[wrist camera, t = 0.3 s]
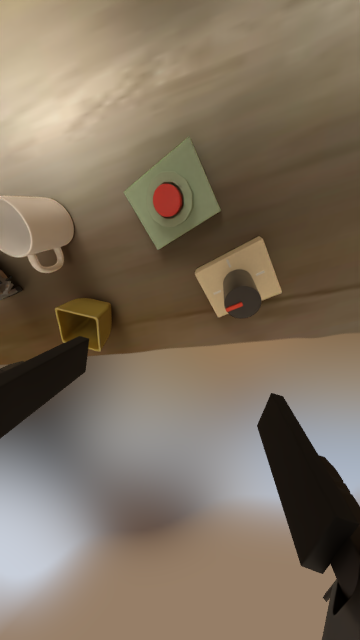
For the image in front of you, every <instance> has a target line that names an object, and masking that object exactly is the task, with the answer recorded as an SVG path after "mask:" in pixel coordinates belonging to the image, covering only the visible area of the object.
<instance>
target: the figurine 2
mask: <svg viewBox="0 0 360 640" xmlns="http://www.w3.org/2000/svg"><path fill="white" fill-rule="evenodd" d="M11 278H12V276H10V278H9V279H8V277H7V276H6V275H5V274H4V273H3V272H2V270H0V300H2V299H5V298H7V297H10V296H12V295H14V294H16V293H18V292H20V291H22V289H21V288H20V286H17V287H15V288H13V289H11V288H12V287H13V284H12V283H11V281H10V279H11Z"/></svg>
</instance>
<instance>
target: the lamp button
mask: <svg viewBox="0 0 360 640" xmlns="http://www.w3.org/2000/svg"><path fill="white" fill-rule="evenodd" d="M153 205H154V208H155V210H156V211H157V212H158V213H159V214H160V215H161V216H164V217H171V216H174V215H176V214H177V213H178V212H179V211H180V209H181V207H182V195H181V193H180V191H179V190H178V188H176V187H175V186H173V185H171V184H162V185H160V186H158V187H157V189H156V190H155V192H154V195H153Z"/></svg>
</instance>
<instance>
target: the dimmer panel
mask: <svg viewBox="0 0 360 640" xmlns="http://www.w3.org/2000/svg"><path fill="white" fill-rule="evenodd" d="M237 269H242V270H245V271H247V272H249V273H250V275H251V276H252V278H253V280H254V283H255V285H256V287H257V289H258V291H259V294H260V296H261V301H262V300H265V299H267V298H270V297H272V296H275V295H277V294H280V293H282V291H281V288H280V285H279V282H278V280H277V277H276V274H275V271H274V268H273V266H272V263H271V260H270V257H269V255H268V252H267V249H266V246H265V243H264V241H263V239H262V238H261V237H260V236H258V237H256V238H254V239H253V240H251V241H249V242H247V243H245V244H243V245H241V246H239V247H237V248H235V249H233V250H232V251H230V252H228V253H226V254H224V255H222V256H220V257H218V258H216V259H214V260H213V261H211V262H209V263H207V264H205V265H203V266H201V267H199V268H197V269H196V271H195V276H196V278H197V279H198V281H199V283H200V285H201V287H202V289H203V291H204V292H205V294H206V296H207V298H208V300H209V302H210V303H211V305H212V307H213V309H214V311H215V313H216V314H217V316H218V317H221V316H224V315H226V314H229V313H228V312H226V310H225V306H224V291H223V281H224V278H225V277H226V275H227V274H228V273H229V272H231V271H233V270H237Z"/></svg>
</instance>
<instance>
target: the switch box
mask: <svg viewBox="0 0 360 640" xmlns="http://www.w3.org/2000/svg"><path fill="white" fill-rule="evenodd" d="M162 184H171V185H173V186H175V187H176V188H178V190H179V191H180V193H181V195H182V207H181V209H180V211H179V212H178V213H177V214H176V215H174V216H171V217H164V216H161V215H160V214H159V213H158V212H157V211H156V210H155V208H154V205H153V195H154V192H155V190H156V189H157V187H158V186H160V185H162ZM124 194H125V196H126V197H127V199H128V201H129V202H130V204H131V206H132V207H133V209H134V211H135V212H136V214H137V216H138V217H139V219H140V221H141V223H142V224H143V226H144V228H145V229H146V231H147V233H148V234H149V236H150V238H151V239H152V241H153V243H154V244H155V246H156V248H157V250H159V249H161V248H162V247H164V246H165V245H167V244H169V243H170V242H172V241H173V240H175V239H177V238H178V237H180V236H181V235H183V234H185V233H186V232H188V231H189V230H191V229H193V228H194V227H196V226H197V225H199V224H201V223H202V222H204V221H205V220H207V219H209V218H210V217H212V216H213V215H215V214H217V213H218V212H220V211H221V210H220V207H219V205H218V203H217V200H216V198H215V196H214V193H213V191H212V188H211V186H210V184H209V181H208V179H207V177H206V174H205V172H204V170H203V167H202V165H201V162H200V160H199V158H198V155H197V153H196V151H195V148H194V146H193V144H192V141H191V139H190V137H187V138H186V139H185V140H184V141H183V142H182V143H180V144H179V145H178V146H177V147H176V148H174V149H173V150H172V151H171V152H170V153H169V154H167V155H166V156H165V157H164V158H163V159H162V160H160V161H159V162H158V163H157V164H156V165H155V166H153V167H152V168H151V169H150V170H149V171H147V172H146V173H145V174H144V175H143V176H142V177H140V178H139V179H138V180H137V181H136V182H135V183H133V184H132V185H131V186H130V187H129V188H128V189H126V190H125V191H124Z"/></svg>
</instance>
